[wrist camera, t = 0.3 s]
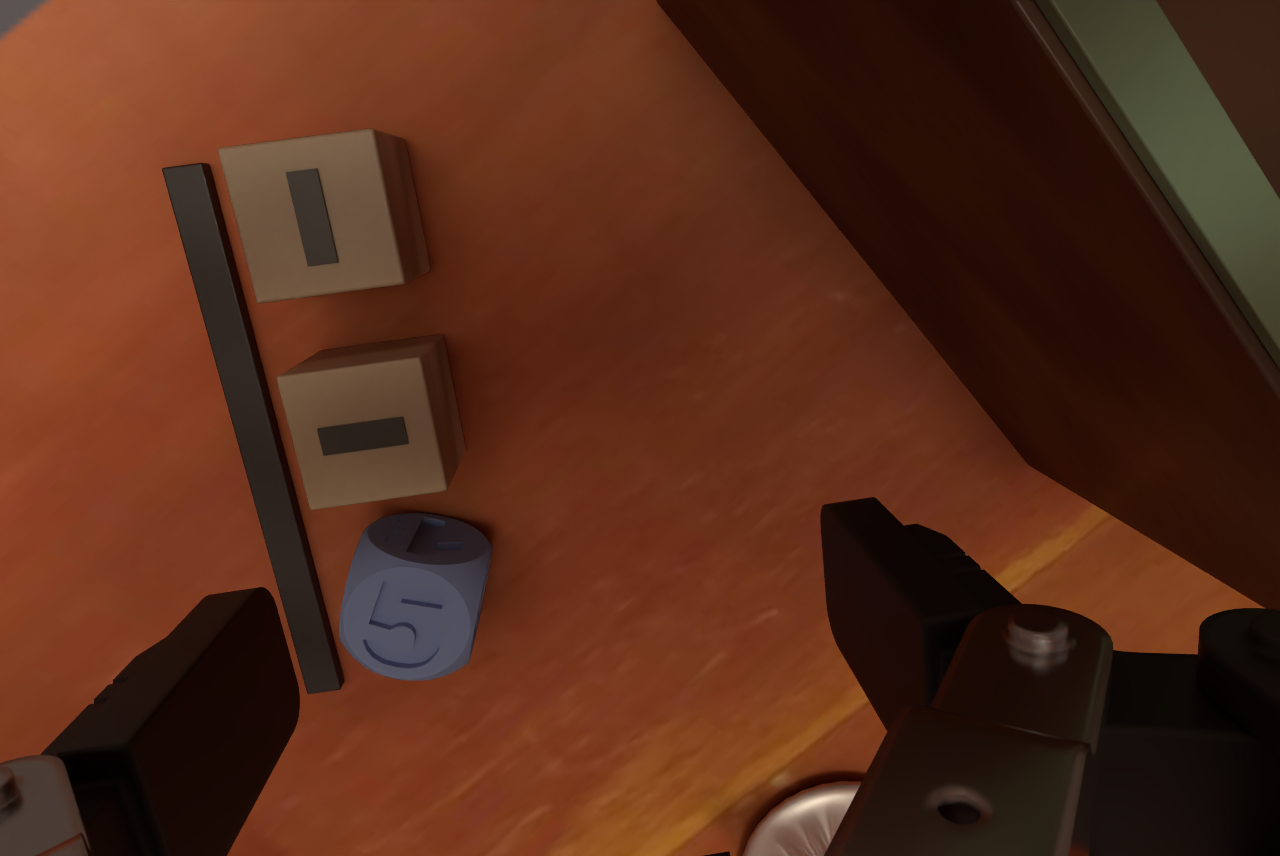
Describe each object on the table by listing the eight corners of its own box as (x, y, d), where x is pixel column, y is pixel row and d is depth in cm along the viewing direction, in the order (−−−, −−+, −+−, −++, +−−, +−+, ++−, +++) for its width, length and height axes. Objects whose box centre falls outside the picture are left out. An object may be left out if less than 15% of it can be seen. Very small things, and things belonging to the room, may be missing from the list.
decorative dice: (497, 524, 28) (484, 576, 24) (478, 626, 29) (462, 691, 26) (380, 503, 28) (348, 553, 24) (364, 608, 29) (331, 671, 25)
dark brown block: (655, 0, 24) (944, -769, 5) (865, -207, 23) (2300, -2240, 4) (1029, 466, 29) (1907, 998, 10) (1217, 313, 28) (2616, 574, 9)
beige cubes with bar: (168, 168, 25) (89, 163, 21) (405, 137, 25) (372, 127, 21) (311, 687, 30) (269, 762, 26) (507, 657, 30) (495, 728, 26)
